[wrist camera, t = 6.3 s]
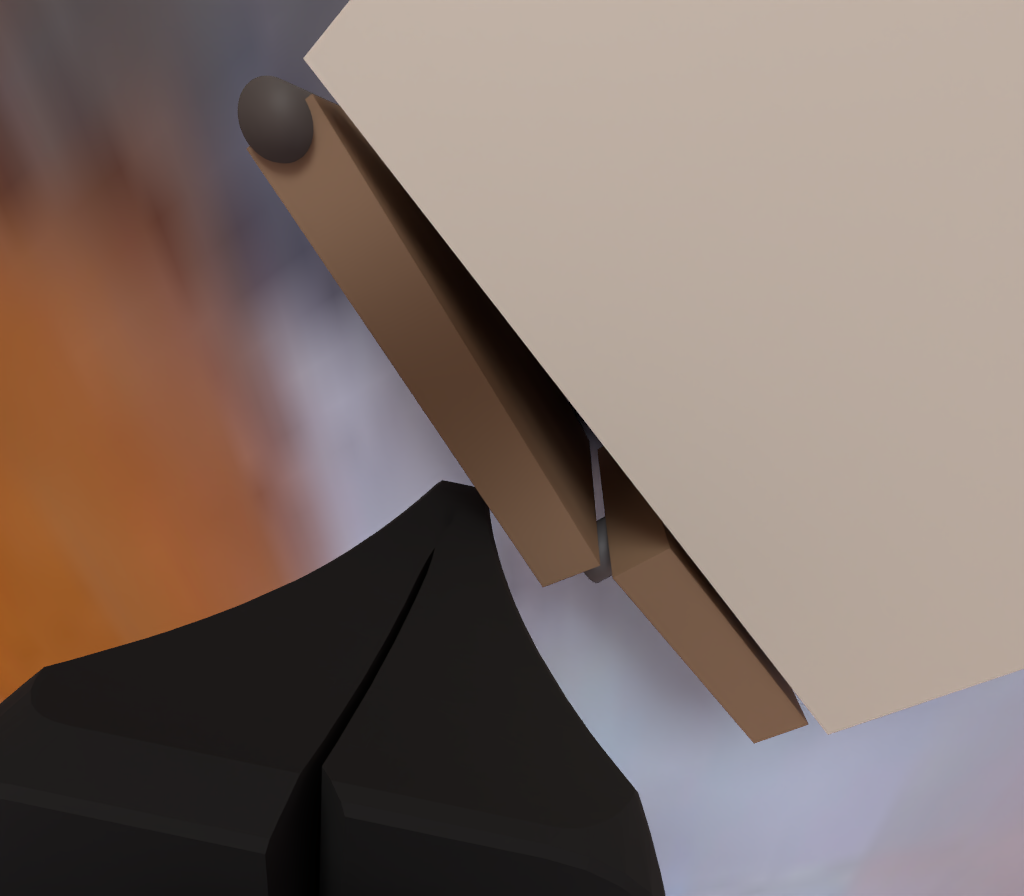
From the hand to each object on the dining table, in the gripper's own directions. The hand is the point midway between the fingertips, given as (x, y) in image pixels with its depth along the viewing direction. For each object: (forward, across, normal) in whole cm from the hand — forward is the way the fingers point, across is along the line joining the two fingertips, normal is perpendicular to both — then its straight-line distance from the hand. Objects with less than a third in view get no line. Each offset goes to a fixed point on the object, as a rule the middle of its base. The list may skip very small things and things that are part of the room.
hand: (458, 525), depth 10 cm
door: (+2, 0, -4) cm, 4 cm away
